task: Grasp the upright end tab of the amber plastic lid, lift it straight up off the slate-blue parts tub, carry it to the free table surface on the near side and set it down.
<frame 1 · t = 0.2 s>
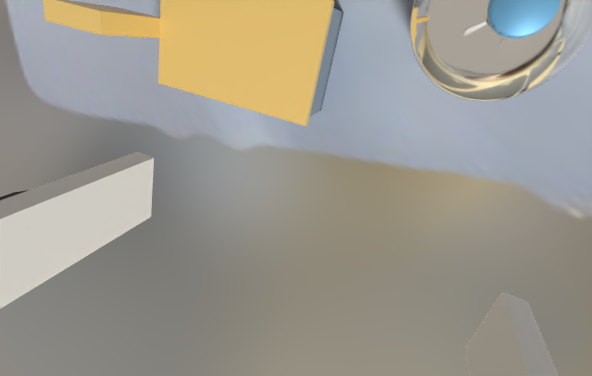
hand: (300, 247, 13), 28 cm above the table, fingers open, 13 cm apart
tub: (263, 47, 38), on the table
water bottle: (455, 36, 32), on the table
lid: (238, 46, 33), point 6 cm above the table, touching tub
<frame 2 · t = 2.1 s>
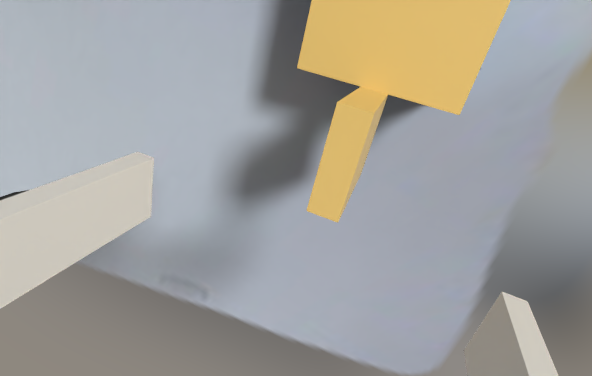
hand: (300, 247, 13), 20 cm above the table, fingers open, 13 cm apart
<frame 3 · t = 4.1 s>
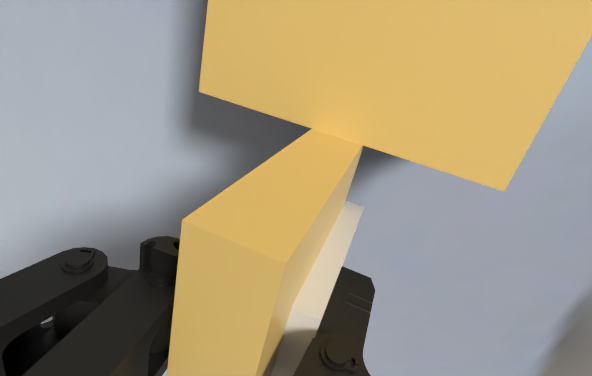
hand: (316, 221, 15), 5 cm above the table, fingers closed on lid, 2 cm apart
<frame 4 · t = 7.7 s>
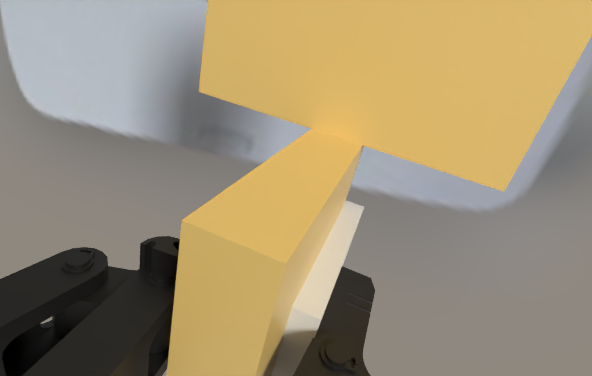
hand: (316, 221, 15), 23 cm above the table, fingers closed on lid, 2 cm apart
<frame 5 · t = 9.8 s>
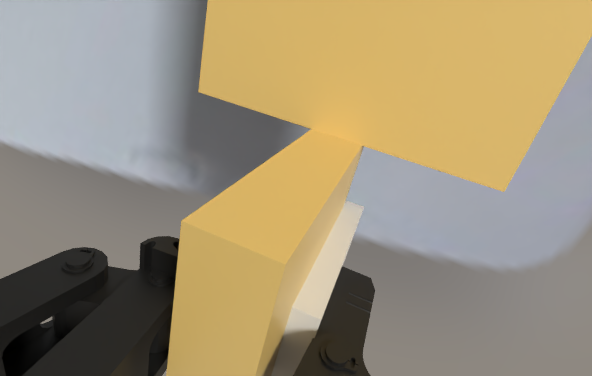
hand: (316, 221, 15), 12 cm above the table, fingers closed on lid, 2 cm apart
when the fingers open (2 cm above the table, at t = 11.7 s): lid drops 3 cm, on the table.
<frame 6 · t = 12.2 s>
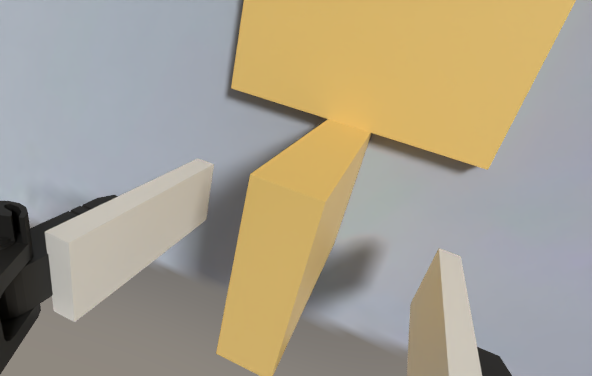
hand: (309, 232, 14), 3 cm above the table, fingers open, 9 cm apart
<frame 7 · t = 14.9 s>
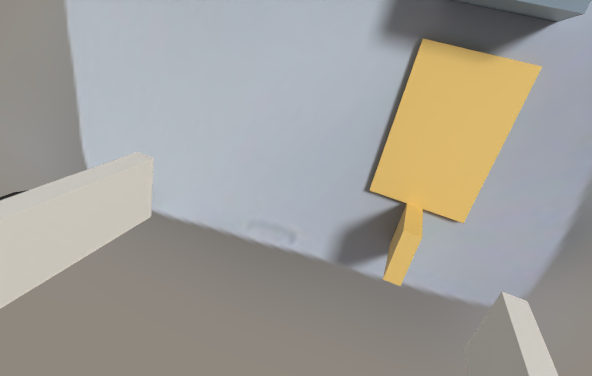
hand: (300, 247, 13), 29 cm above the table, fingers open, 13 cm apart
lid: (444, 135, 36), on the table
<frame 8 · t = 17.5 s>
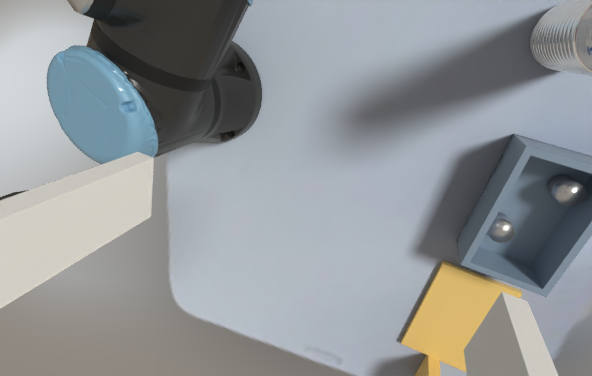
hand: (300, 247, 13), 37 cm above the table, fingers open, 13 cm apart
part b: (560, 185, 41), point 1 cm above the table, touching tub
tub: (523, 205, 44), on the table
water bottle: (564, 36, 37), on the table
part a: (496, 221, 45), point 1 cm above the table, touching tub
lid: (455, 317, 52), on the table
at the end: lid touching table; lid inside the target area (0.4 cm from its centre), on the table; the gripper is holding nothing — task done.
